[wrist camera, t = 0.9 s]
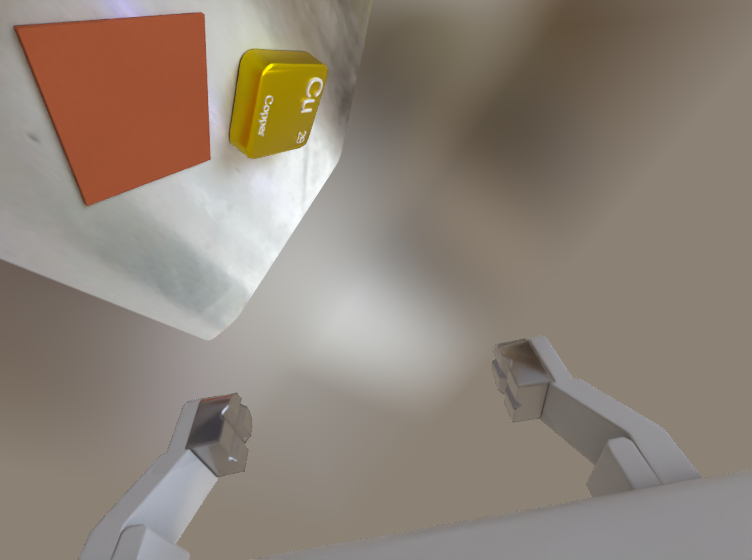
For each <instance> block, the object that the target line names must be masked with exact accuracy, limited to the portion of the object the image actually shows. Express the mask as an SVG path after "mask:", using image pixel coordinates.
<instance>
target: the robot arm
mask: <svg viewBox="0 0 752 560" xmlns="http://www.w3.org/2000/svg"><path fill="white" fill-rule="evenodd" d="M493 353H494V356H495V359H494V360H493V362H492V371H493V376H494V380H495V382H496V385H497V388H498V390H499V391H500V392H501V393H503V394H505V400H504V404H505V406H506V408H507V411H508V413H509V415H510V417H511V420H512V422H520V421H526V420H532V419H539V418H541V420H542V421H543V422H544V423H545V424H546V425H548V426H549V427H550V428H551V429H552V430H553V431H555V432H556V433H557V434H558V435H559V436H561V437H562V438H563V439H564V440H565V441H567V442H568V443H569V444H570V445H571V446H573V447H574V448H575V449H576V450H577V451H578V452H580V453H581V454H582V455H583V456H585V457H586V458H587V459H588V460H589V461H590V462H592V463H593V464H594V465H595V467H594V469H593V471H592V473H591V475H590V477H589V479H588V481H587V484H586V485H587V487H588V489H589V491H590V493H591V495H592V497H593V498H587V499H582V500H576V501H571V502H565V503H560V504H554V505H549V506H543V507H538V508H532V509H526V510H521V511H515V512H509V513H504V514H498V515H493V516H487V517H482V518H476V519H471V520H465V521H459V522H454V523H448V524H443V525H437V526H431V527H426V528H420V529H415V530H410V531H404V532H399V533H393V534H387V535H381V536H376V537H370V538H365V539H360V540H354V541H348V542H343V543H337V544H332V545H326V546H321V547H315V548H309V549H304V550H299V551H293V552H287V553H282V554H276V555H270V556H266V557H259V558H254V559H248V560H752V469H749V470H744V471H738V472H732V473H727V474H722V475H716V476H711V477H704V478H702V477H701V476H700V474H699V473H698V472H697V471H696V469H695V468H694V467H693V465H692V464H691V463H690V462H689V460H688V459H687V458H686V456H685V455H684V454H683V453H682V451H681V450H680V449H679V447H678V446H677V445H676V444H675V442H674V441H673V440H672V438H671V437H670V436H669V435H668V433H667V432H666V431H665V430H664V428H662V427H661V426H659V425H657V424H655V423H654V422H652V421H650V420H649V419H647V418H645V417H643V416H642V415H640V414H639V413H637V412H635V411H633V410H632V409H630V408H628V407H627V406H625V405H623V404H622V403H620V402H618V401H616V400H615V399H613V398H611V397H610V396H608V395H606V394H605V393H603V392H601V391H600V390H598V389H596V388H595V387H593V386H591V385H589V384H588V383H586V382H584V381H583V380H581V379H579V378H573V377H572V376H571V374H570V373H569V372H568V370H567V369H566V367H565V365H564V364H563V362H562V361H561V359H560V358H559V356H558V355H557V353H556V352H555V350H554V348H553V347H552V346H551V344H550V342H549V341H548V339H547V338H546V337H545V336H538V337H533V338H527V339H520V340H515V341H510V342H505V343H500V344H495V345H494V347H493ZM251 432H252V417H251V414H250V411H249V409H248V408H247V407H246V406H244V405H242V404H241V397H240V396H239V395H238V394H237V393H233V394H227V395H220V396H214V397H208V398H202V399H196V400H190V401H187V402H186V403H185V404H184V406H183V408H182V411H181V413H180V416H179V419H178V422H177V425H176V427H175V430H174V433H173V436H172V439H171V442H170V444H169V447H168V450H167V453H164V454H161V455H160V456H159V457H158V458H157V460H156V461H155V462H154V463H153V464H152V465H151V466H150V467H149V468H148V469H147V471H146V472H145V473H144V474H143V475H142V476H141V477H140V478H139V479H138V480H137V481H136V482H135V484H134V485H133V486H132V487H131V488H130V489H129V490H128V491H127V492H126V493H125V494H124V496H123V497H122V498H121V499H120V500H119V501H118V502H117V503H116V504H115V505H114V506H113V507H112V508H111V510H110V511H109V512H108V513H107V514H106V515H105V516H104V517H103V518H102V519H101V520H100V521H99V523H98V524H97V525H96V526H95V527H94V528H93V529H92V530H91V531H90V533H89V536H88V538H87V540H86V542H85V544H84V547H83V549H82V551H81V553H80V556H79V558H78V560H190V555H189V553H188V552H187V551H186V550H184V549H183V548H181V547H180V546H178V545H176V543H177V541H178V540H179V538H180V536H181V535H182V533H183V532H184V530H185V529H186V527H187V526H188V524H189V523H190V521H191V519H192V518H193V516H194V515H195V513H196V512H197V510H198V509H199V507H200V506H201V504H202V503H203V501H204V500H205V498H206V496H207V495H208V493H209V492H210V490H211V489H212V487H213V486H214V484H215V483H216V481H217V479H218V478H217V477H221V476H225V475H230V474H235V473H239V472H244V471H245V467H246V461H247V456H248V448H247V447H246V445H245V443H246V442H247V440H248V439H249V438H250V436H251Z"/></svg>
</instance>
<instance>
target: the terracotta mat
mask: <svg viewBox="0 0 752 560" xmlns="http://www.w3.org/2000/svg"><path fill="white" fill-rule="evenodd" d="M14 28H15V31H16V33H17V36H18V38H19V41H20V43H21V46H22V48H23V51H24V53H25V55H26V58H27V60H28V63H29V65H30V68H31V70H32V73H33V75H34V78H35V80H36V83H37V85H38V88H39V90H40V93H41V95H42V98H43V100H44V103H45V105H46V108H47V110H48V113H49V115H50V118H51V120H52V123H53V125H54V128H55V130H56V133H57V135H58V137H59V140H60V142H61V145H62V147H63V150H64V152H65V155H66V157H67V160H68V162H69V165H70V167H71V170H72V172H73V175H74V177H75V180H76V182H77V185H78V187H79V190H80V192H81V195H82V197H83V200H84V202H85V204H86V205H87V206H88V205H91V204H94V203H96V202H99V201H102V200H104V199H107V198H110V197H112V196H115V195H118V194H120V193H123V192H126V191H128V190H131V189H134V188H136V187H139V186H142V185H144V184H147V183H149V182H152V181H155V180H157V179H160V178H163V177H165V176H168V175H171V174H173V173H176V172H179V171H181V170H184V169H187V168H189V167H192V166H195V165H197V164H200V163H203V162H205V161H208V160H210V159H211V158H210V135H209V111H208V88H207V64H206V41H205V17H204V14H203V13H202V12H200V13H187V14H173V15H159V16H145V17H132V18H118V19H104V20H90V21H77V22H63V23H49V24H35V25H22V26H14Z"/></svg>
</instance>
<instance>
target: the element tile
mask: <svg viewBox="0 0 752 560" xmlns="http://www.w3.org/2000/svg"><path fill="white" fill-rule="evenodd" d="M327 74H328V69H327V67H326V66H325V65H324V64H323V63H322V62H320V61H319V60H317V59H316V58H314V57H313V56H312V55H310V54H309V53H307V52H298V51H281V50H264V49H251V50H249V51H247V52H246V53H245V54H244V55H243V57H242V59H241V63H240V68H239V74H238V81H237V88H236V95H235V102H234V108H233V115H232V122H231V129H230V142H231V144H232V145H233V146H235V147H236V148H237V149H238V150H240V151H241V152H242V153H243V154H245V155H246V156H247V157H248V158H251V159H256V158H260V157H265V156H269V155H273V154H277V153H281V152H285V151H289V150H293V149H298V148H300V147H302V146H304V145H305V144H306V143H307V140H308V138H309V135H310V132H311V129H312V125H313V122H314V119H315V115H316V112H317V109H318V105H319V102H320V99H321V96H322V92H323V89H324V86H325V82H326V79H327Z"/></svg>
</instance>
